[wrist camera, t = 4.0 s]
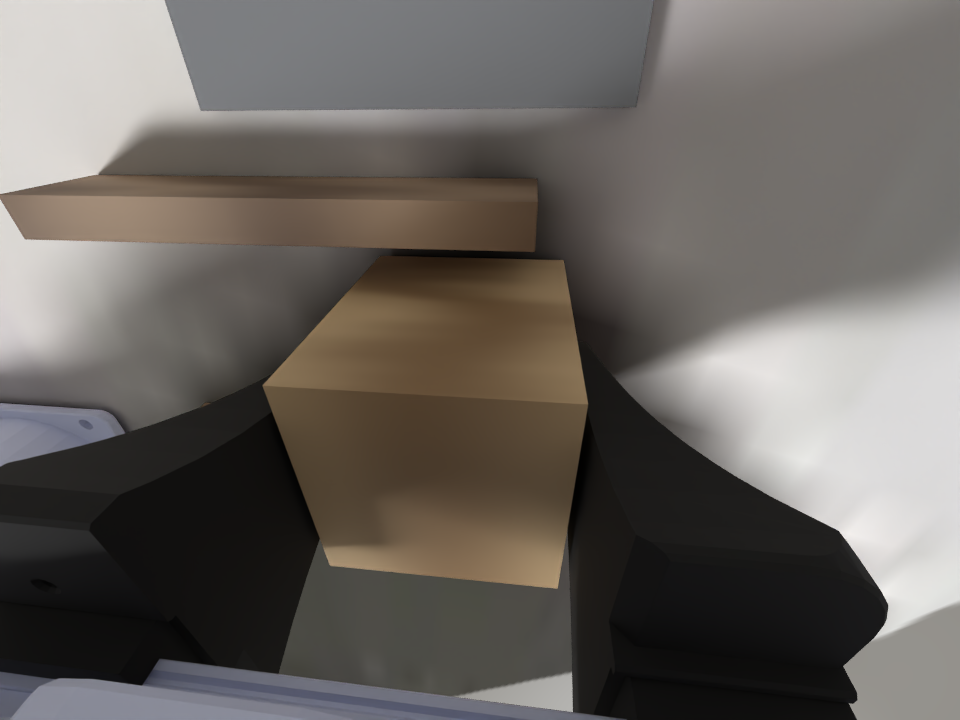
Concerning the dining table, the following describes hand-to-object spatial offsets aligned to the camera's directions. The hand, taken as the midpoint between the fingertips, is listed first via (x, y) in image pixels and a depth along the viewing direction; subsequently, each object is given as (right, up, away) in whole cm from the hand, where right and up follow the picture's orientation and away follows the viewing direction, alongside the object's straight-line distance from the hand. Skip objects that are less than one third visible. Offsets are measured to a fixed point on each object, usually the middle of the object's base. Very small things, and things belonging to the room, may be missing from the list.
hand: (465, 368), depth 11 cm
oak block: (0, +1, +1) cm, 2 cm away
